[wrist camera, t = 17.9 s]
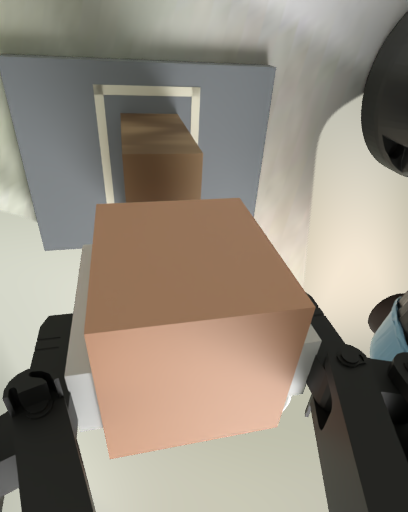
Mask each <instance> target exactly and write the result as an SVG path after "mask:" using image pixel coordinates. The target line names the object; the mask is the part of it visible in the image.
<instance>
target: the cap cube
mask: <svg viewBox="0 0 408 512" xmlns="http://www.w3.org/2000/svg"><path fill="white" fill-rule="evenodd" d="M315 308H316V307H315V305H314V304H313V302H312V301H311V300H310V298H309V297H308V295H307V294H306V292H305V291H304V290H303V288H302V287H301V285H300V284H299V282H298V281H297V279H296V278H295V277H294V275H293V274H292V272H291V271H290V269H289V268H288V267H287V265H286V264H285V262H284V261H283V259H282V258H281V256H280V255H279V254H278V252H277V251H276V249H275V248H274V246H273V245H272V244H271V242H270V241H269V239H268V238H267V236H266V235H265V233H264V232H263V231H262V229H261V228H260V226H259V225H258V223H257V222H256V221H255V219H254V218H253V216H252V215H251V213H250V212H249V210H248V209H247V208H246V206H245V205H244V203H243V202H242V200H241V199H240V198H223V199H201V200H178V201H155V202H132V203H109V204H96V213H95V223H94V234H93V244H92V254H91V265H90V275H89V286H88V296H87V306H86V317H85V327H84V338H85V342H86V347H87V352H88V357H89V362H90V366H91V371H92V376H93V381H94V385H95V390H96V395H97V400H98V405H99V409H100V414H101V419H102V424H103V428H104V433H105V437H106V442H107V447H108V452H109V457H110V459H113V458H119V457H124V456H129V455H135V454H140V453H145V452H150V451H155V450H160V449H166V448H171V447H176V446H181V445H187V444H192V443H197V442H202V441H208V440H213V439H218V438H223V437H229V436H234V435H239V434H244V433H250V432H254V431H260V430H265V429H271V428H276V427H277V426H278V423H279V420H280V417H281V414H282V411H283V408H284V405H285V402H286V399H287V395H288V392H289V389H290V386H291V383H292V380H293V377H294V374H295V370H296V367H297V364H298V361H299V358H300V355H301V352H302V349H303V345H304V342H305V339H306V336H307V333H308V330H309V327H310V324H311V320H312V317H313V314H314V311H315Z"/></svg>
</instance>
